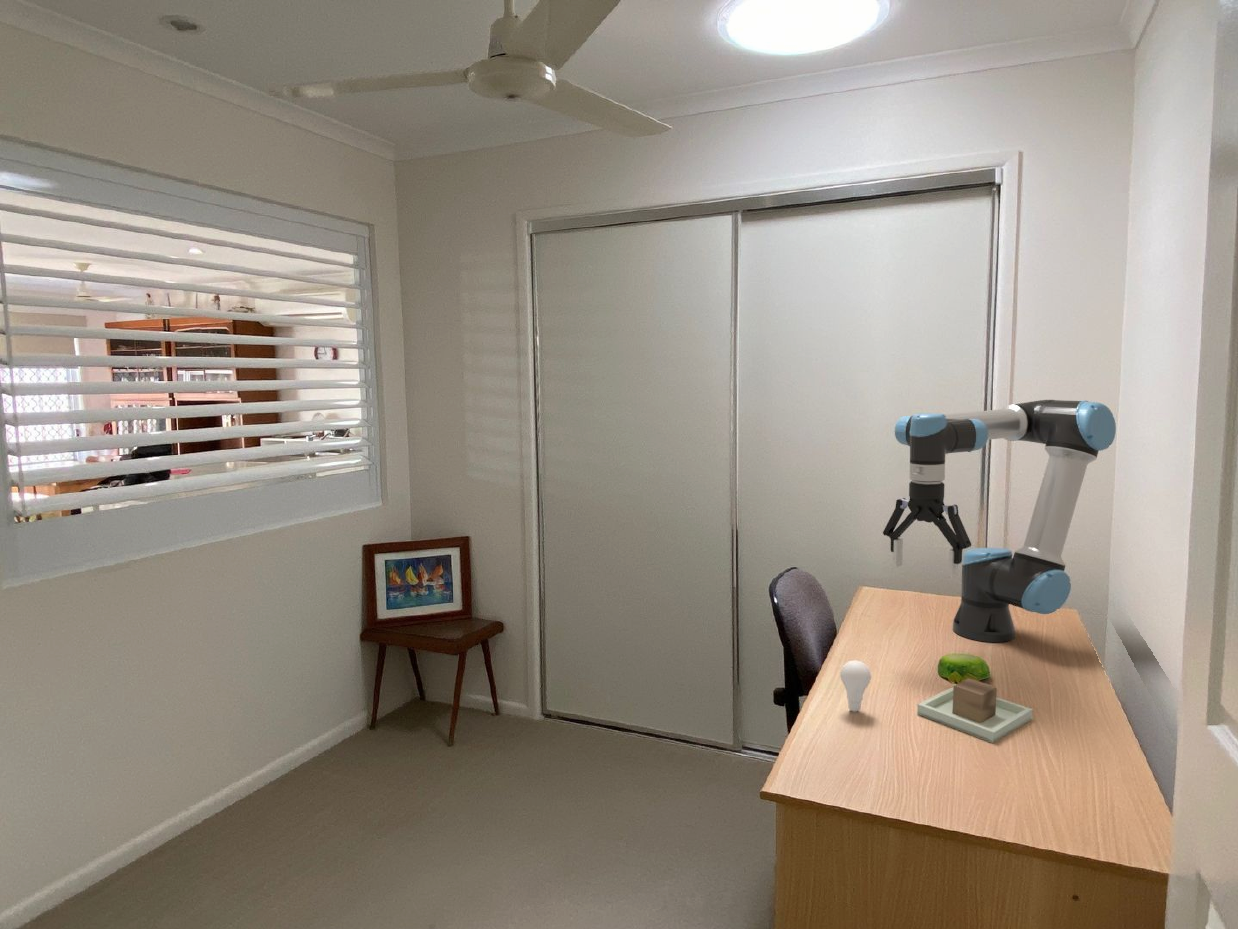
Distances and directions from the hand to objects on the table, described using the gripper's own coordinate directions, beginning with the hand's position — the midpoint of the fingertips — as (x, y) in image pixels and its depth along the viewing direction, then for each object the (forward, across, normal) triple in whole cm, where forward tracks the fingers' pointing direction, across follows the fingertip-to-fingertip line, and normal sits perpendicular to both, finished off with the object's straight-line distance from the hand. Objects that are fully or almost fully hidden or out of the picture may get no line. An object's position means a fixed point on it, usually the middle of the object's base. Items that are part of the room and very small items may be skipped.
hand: (924, 571), depth 181 cm
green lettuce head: (+25, +7, +5) cm, 27 cm away
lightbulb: (+24, +1, -30) cm, 39 cm away
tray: (+24, +19, -14) cm, 34 cm away
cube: (+24, +19, -14) cm, 34 cm away
